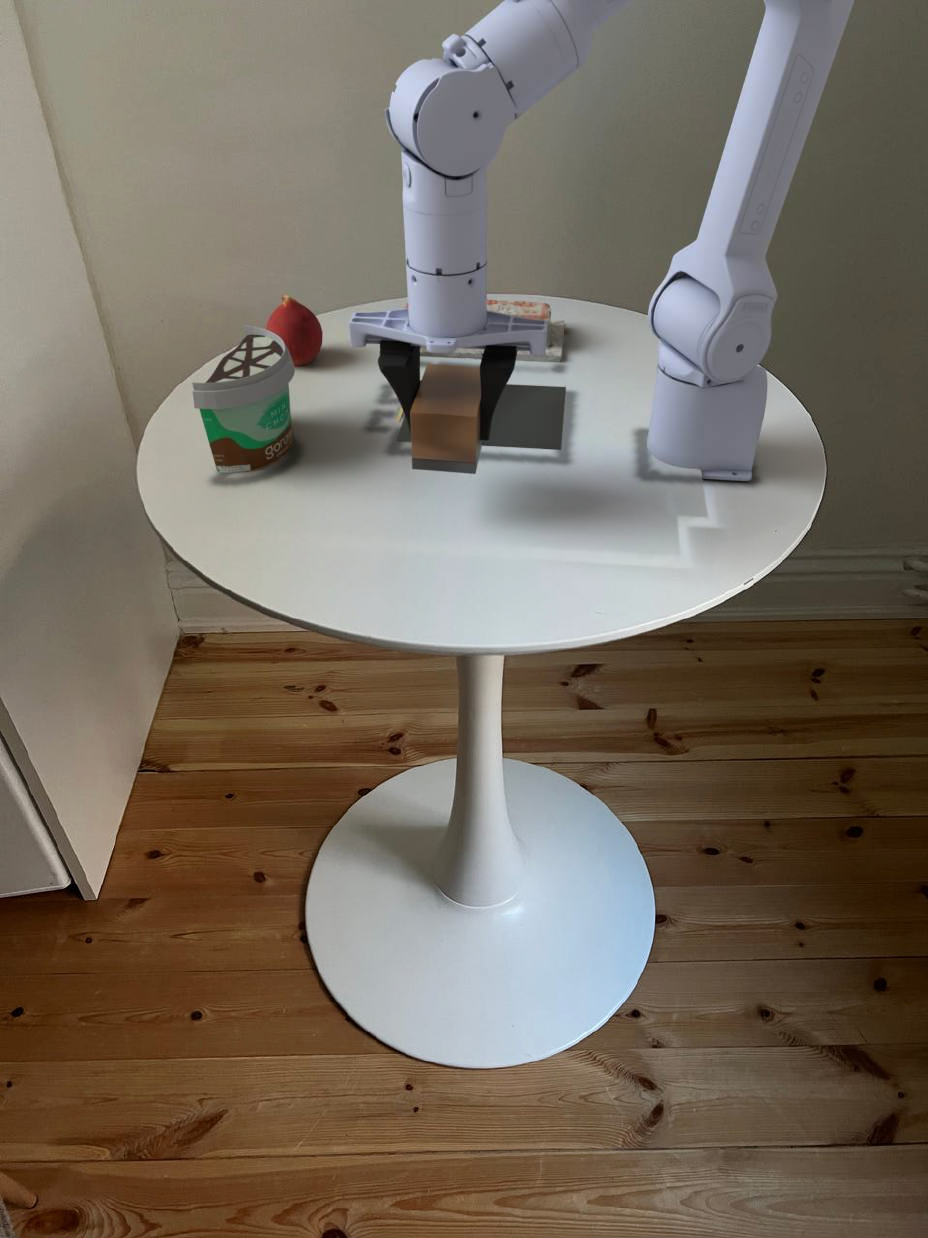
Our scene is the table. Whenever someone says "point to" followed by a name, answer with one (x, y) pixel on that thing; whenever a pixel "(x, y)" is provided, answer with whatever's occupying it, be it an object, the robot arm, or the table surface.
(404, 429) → the slate board
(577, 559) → the table surface
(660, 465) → the table surface
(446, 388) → the eraser
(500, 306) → the packaged product
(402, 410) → the chalk mark
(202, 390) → the food container
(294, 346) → the onion
